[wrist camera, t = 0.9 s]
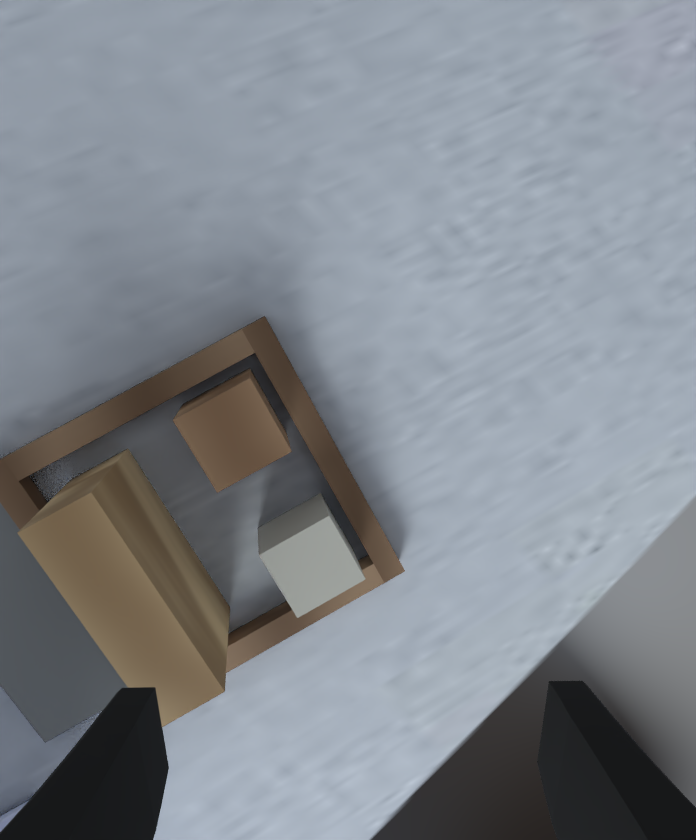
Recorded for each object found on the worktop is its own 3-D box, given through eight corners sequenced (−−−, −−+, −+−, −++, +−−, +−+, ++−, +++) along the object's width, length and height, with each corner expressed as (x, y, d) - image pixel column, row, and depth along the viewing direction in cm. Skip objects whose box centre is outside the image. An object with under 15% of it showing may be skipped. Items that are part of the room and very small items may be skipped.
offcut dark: (221, 467, 26) (217, 492, 22) (183, 403, 25) (172, 420, 21) (286, 431, 26) (291, 451, 22) (249, 367, 25) (249, 378, 22)
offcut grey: (292, 584, 27) (297, 618, 24) (257, 527, 26) (258, 555, 23) (353, 549, 27) (365, 579, 24) (320, 492, 26) (329, 515, 24)
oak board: (178, 636, 27) (157, 729, 21) (72, 478, 25) (17, 532, 19) (230, 606, 27) (224, 691, 21) (128, 447, 25) (91, 492, 19)
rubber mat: (48, 736, 26) (45, 742, 26) (-118, 522, 24) (-124, 526, 23) (153, 676, 27) (152, 681, 26) (0, 458, 24) (-4, 461, 24)
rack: (155, 700, 27) (152, 714, 26) (-11, 464, 24) (-22, 471, 23) (399, 561, 27) (404, 570, 26) (264, 316, 25) (265, 316, 24)
